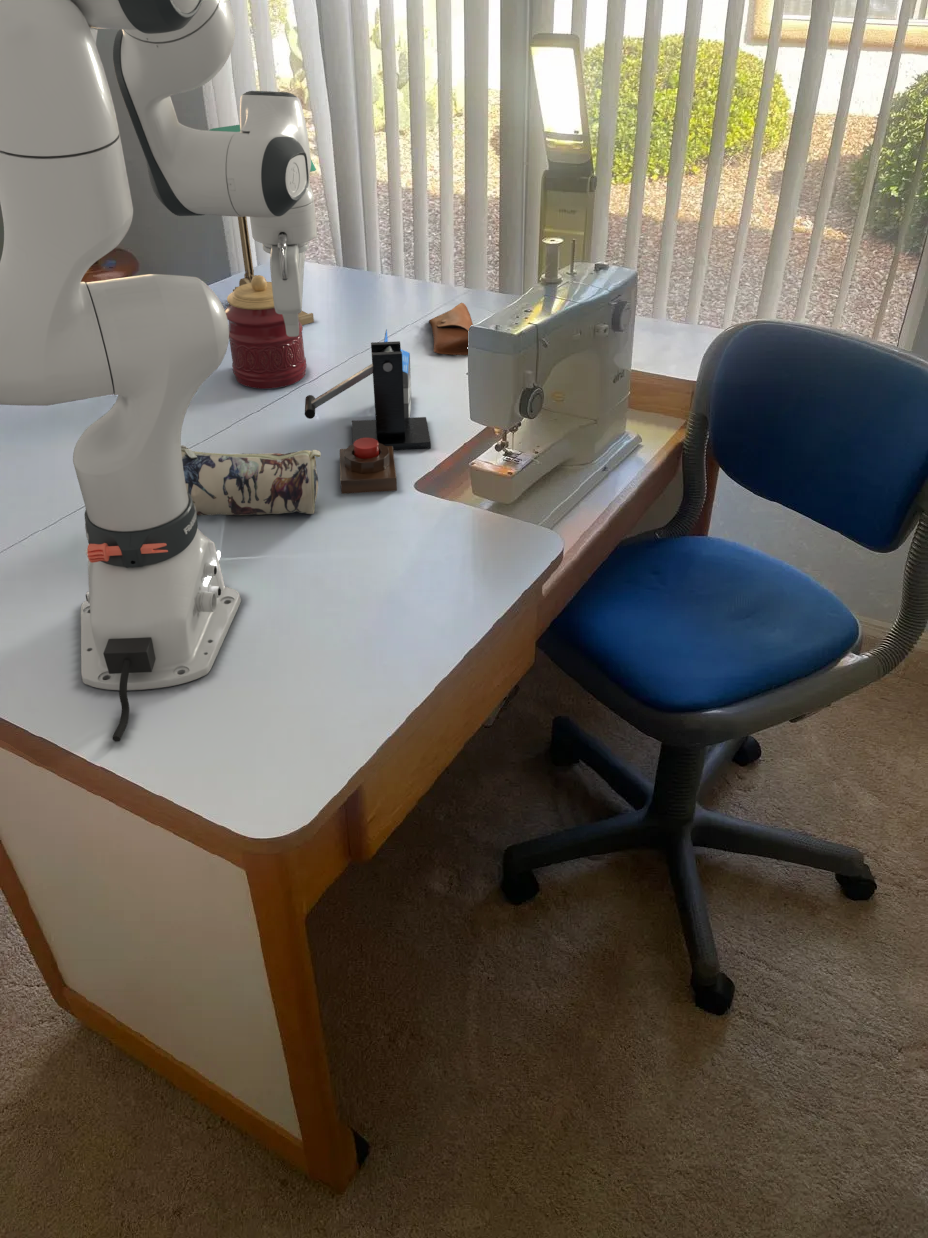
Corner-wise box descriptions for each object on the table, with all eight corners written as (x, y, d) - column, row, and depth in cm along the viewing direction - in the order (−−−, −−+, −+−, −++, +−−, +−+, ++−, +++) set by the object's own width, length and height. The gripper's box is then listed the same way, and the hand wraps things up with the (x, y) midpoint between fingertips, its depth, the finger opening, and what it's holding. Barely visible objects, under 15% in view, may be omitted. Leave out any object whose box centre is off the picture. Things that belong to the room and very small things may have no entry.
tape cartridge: (410, 421, 158) (407, 349, 151) (386, 422, 158) (382, 349, 151) (412, 398, 165) (409, 328, 158) (389, 398, 165) (385, 328, 158)
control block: (397, 491, 140) (395, 466, 138) (341, 494, 140) (339, 469, 137) (393, 458, 148) (392, 434, 146) (340, 461, 147) (338, 437, 145)
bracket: (353, 453, 150) (346, 361, 141) (352, 427, 157) (345, 338, 148) (430, 449, 151) (428, 357, 142) (426, 423, 158) (423, 335, 149)
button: (379, 458, 140) (378, 448, 139) (354, 460, 140) (353, 449, 139) (378, 447, 143) (377, 436, 142) (354, 448, 143) (353, 437, 142)
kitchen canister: (220, 374, 174) (204, 274, 163) (281, 355, 181) (270, 258, 170) (259, 396, 166) (245, 293, 155) (321, 376, 173) (312, 276, 162)
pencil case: (163, 526, 133) (149, 462, 127) (178, 494, 139) (165, 432, 134) (322, 526, 133) (316, 462, 127) (330, 495, 139) (324, 433, 133)
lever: (310, 422, 148) (301, 410, 146) (310, 407, 152) (301, 395, 151) (400, 368, 144) (391, 354, 143) (397, 354, 148) (389, 341, 147)
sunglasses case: (425, 319, 194) (442, 289, 191) (455, 335, 197) (472, 306, 194) (433, 353, 180) (451, 322, 177) (465, 370, 183) (483, 340, 179)
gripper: (305, 245, 124) (315, 349, 133) (307, 201, 140) (316, 297, 149) (255, 247, 123) (268, 351, 132) (263, 203, 139) (274, 298, 148)
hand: (294, 322), depth 140 cm, fingers open, 8 cm apart
